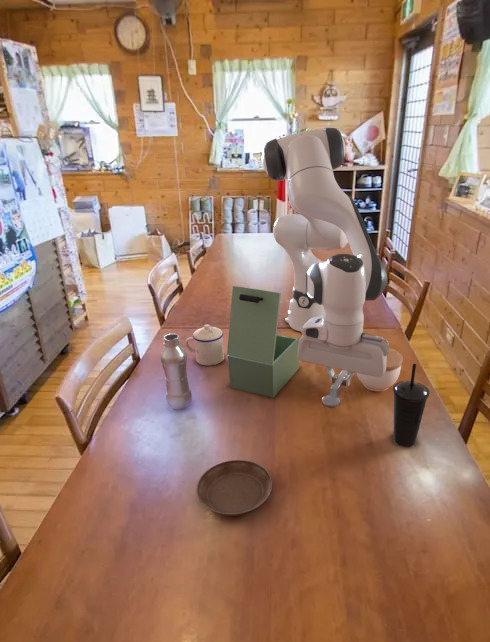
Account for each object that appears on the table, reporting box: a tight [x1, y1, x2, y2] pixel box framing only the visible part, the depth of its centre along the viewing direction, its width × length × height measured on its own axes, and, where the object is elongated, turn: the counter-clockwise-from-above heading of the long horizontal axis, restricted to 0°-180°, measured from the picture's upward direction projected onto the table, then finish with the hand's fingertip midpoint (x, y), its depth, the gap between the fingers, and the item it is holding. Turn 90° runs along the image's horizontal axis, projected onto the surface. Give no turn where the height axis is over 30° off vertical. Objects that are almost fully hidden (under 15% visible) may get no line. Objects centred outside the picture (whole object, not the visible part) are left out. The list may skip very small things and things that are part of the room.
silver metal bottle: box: [159, 333, 193, 410], centre depth 115 cm, size 6×7×20 cm
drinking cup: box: [392, 363, 430, 448], centre depth 100 cm, size 8×8×20 cm
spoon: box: [321, 370, 349, 409], centre depth 104 cm, size 12×4×3 cm, turn 154°
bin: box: [227, 334, 300, 399], centre depth 129 cm, size 18×14×10 cm
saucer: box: [196, 459, 273, 517], centre depth 90 cm, size 15×15×3 cm
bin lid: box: [226, 285, 282, 365], centre depth 116 cm, size 19×14×5 cm
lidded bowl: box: [355, 347, 404, 392], centre depth 124 cm, size 13×13×11 cm
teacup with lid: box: [184, 323, 225, 367], centre depth 139 cm, size 12×9×12 cm
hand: (339, 383), depth 105 cm, fingers closed on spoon
